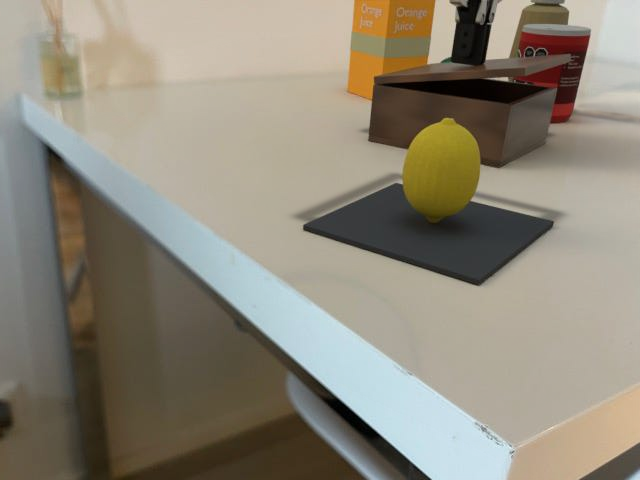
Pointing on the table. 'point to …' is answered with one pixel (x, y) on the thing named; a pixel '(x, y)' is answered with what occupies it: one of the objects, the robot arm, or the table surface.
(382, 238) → the mat
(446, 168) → the lemon
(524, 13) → the squeeze bottle
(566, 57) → the lid
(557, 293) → the table surface
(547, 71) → the canned food
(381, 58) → the orange juice
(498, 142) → the chest
